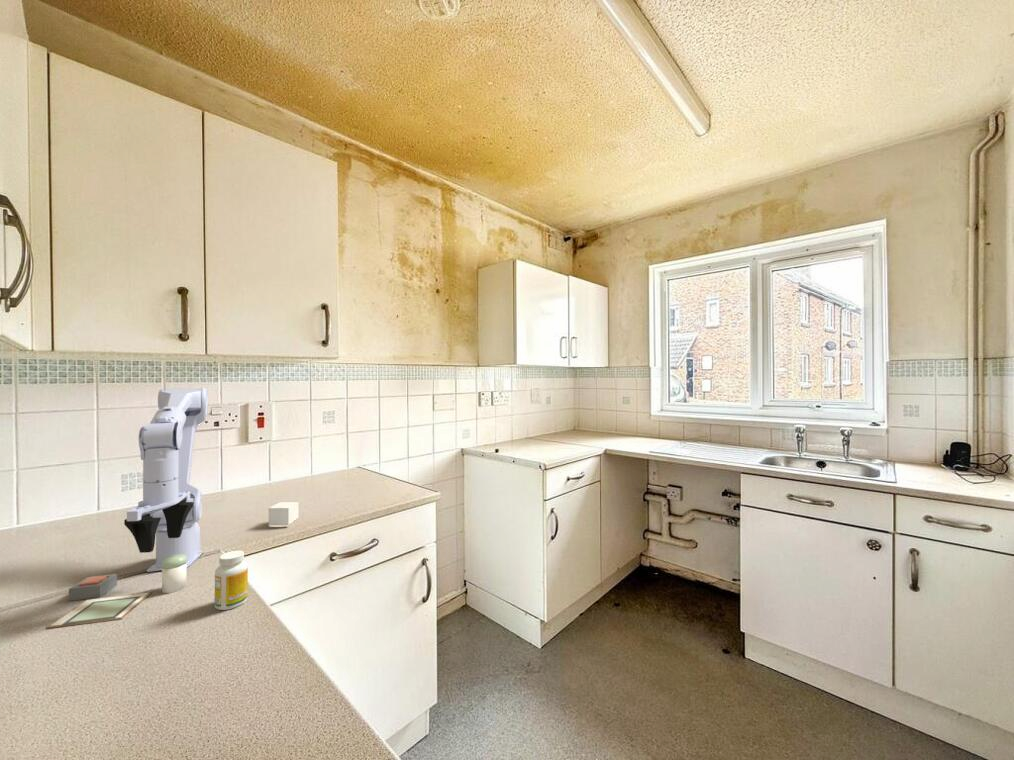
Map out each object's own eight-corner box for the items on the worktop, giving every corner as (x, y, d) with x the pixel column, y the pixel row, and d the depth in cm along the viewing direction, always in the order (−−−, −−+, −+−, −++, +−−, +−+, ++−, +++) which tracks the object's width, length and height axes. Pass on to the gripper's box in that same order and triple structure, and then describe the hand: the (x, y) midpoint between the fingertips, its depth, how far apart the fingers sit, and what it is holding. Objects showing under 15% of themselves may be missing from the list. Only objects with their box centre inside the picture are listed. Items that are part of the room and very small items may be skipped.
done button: (90, 583, 85) (90, 577, 85) (106, 581, 86) (106, 575, 86) (80, 589, 82) (80, 583, 82) (97, 587, 83) (97, 582, 83)
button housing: (87, 588, 86) (87, 577, 86) (116, 585, 87) (116, 573, 87) (68, 600, 81) (68, 588, 81) (100, 597, 82) (100, 585, 82)
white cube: (288, 528, 122) (288, 508, 122) (268, 528, 122) (268, 508, 122) (298, 521, 128) (298, 502, 128) (279, 521, 128) (279, 502, 128)
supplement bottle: (208, 611, 77) (208, 561, 77) (225, 597, 82) (225, 549, 82) (238, 610, 77) (238, 559, 77) (253, 595, 83) (253, 548, 83)
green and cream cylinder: (168, 585, 87) (168, 555, 87) (190, 582, 88) (190, 552, 88) (157, 594, 83) (157, 562, 83) (180, 591, 84) (180, 560, 84)
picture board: (86, 600, 81) (86, 599, 81) (151, 593, 84) (151, 591, 84) (46, 628, 72) (46, 627, 72) (121, 619, 75) (121, 617, 75)
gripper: (167, 472, 92) (167, 532, 92) (109, 489, 78) (109, 559, 78) (199, 472, 93) (199, 531, 93) (148, 488, 79) (148, 558, 78)
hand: (161, 544), depth 85 cm, fingers open, 7 cm apart
